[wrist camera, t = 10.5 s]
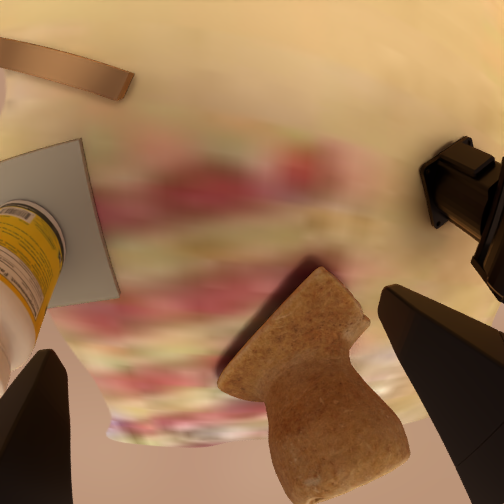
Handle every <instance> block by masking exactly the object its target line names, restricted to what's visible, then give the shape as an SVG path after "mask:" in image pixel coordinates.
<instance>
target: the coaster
mask: <svg viewBox="0 0 504 504" xmlns="http://www.w3.org/2000/svg"><path fill="white" fill-rule="evenodd" d="M14 200H24V201H29V202H32V203H35V204H37V205H39V206H41V207H42V208H44V209H45V210H46V211H47V212H48V213H49V214H50V215H51V216H52V217H53V218H54V219H55V221H56V222H57V224H58V226H59V227H60V229H61V232H62V235H63V238H64V242H65V249H66V253H65V260H64V264H63V267H62V270H61V273H60V275H59V278H58V280H57V283H56V285H55V288H54V290H53V293H52V296H51V299H50V301H49V304H48V307H47V308H54V307H61V306H68V305H75V304H82V303H89V302H96V301H102V300H109V299H116V298H120V290H119V287H118V284H117V281H116V278H115V275H114V272H113V268H112V265H111V262H110V258H109V255H108V252H107V248H106V245H105V241H104V238H103V234H102V230H101V226H100V223H99V219H98V215H97V211H96V207H95V203H94V198H93V194H92V190H91V185H90V181H89V176H88V171H87V166H86V161H85V156H84V150H83V145H82V139H81V138H79V139H75V140H71V141H67V142H63V143H59V144H55V145H52V146H48V147H45V148H41V149H38V150H34V151H31V152H28V153H24V154H21V155H18V156H15V157H12V158H9V159H6V160H3V161H0V206H1V205H3V204H5V203H7V202H10V201H14Z"/></svg>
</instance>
